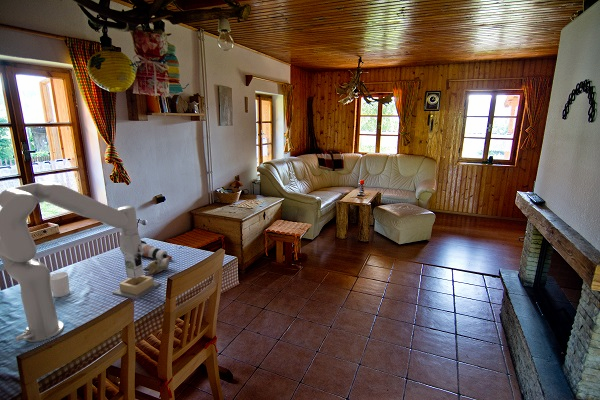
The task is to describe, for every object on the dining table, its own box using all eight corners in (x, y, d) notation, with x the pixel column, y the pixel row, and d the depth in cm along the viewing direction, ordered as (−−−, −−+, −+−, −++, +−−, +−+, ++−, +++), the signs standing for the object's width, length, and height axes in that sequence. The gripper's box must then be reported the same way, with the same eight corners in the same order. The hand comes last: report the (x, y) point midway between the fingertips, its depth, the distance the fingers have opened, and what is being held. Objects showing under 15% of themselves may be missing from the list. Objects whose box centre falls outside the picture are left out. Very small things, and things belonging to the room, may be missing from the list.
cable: (168, 269, 200) (162, 259, 193) (126, 255, 210) (119, 245, 203) (178, 256, 206) (173, 246, 200) (137, 244, 217) (131, 234, 210)
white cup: (49, 298, 159) (45, 280, 156) (56, 290, 166) (52, 273, 163) (67, 296, 161) (64, 278, 158) (73, 288, 168) (70, 271, 165)
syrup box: (144, 273, 168) (141, 247, 164) (135, 279, 162) (132, 252, 159) (135, 272, 170) (131, 246, 166) (126, 277, 164) (122, 251, 160)
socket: (136, 300, 158) (135, 291, 157) (112, 293, 163) (111, 285, 162) (161, 284, 173) (160, 276, 171) (137, 279, 178) (136, 271, 177)
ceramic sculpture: (171, 257, 185) (143, 266, 176) (173, 271, 187) (146, 280, 178) (165, 251, 193) (138, 259, 184) (167, 265, 195) (141, 273, 186)
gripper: (109, 231, 159) (114, 264, 164) (136, 235, 154) (141, 270, 158) (122, 226, 166) (127, 258, 171) (148, 230, 160) (152, 264, 165)
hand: (133, 264), depth 164 cm, fingers closed on syrup box, 5 cm apart
